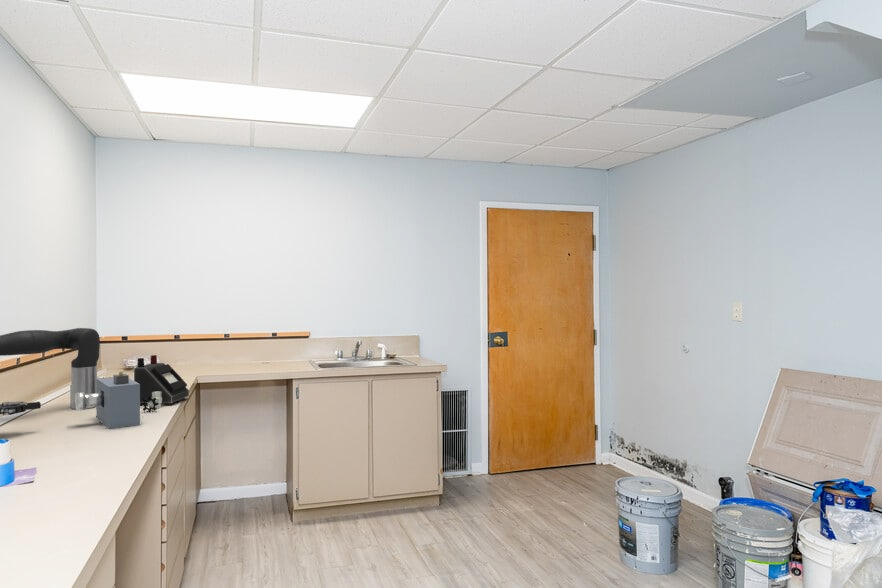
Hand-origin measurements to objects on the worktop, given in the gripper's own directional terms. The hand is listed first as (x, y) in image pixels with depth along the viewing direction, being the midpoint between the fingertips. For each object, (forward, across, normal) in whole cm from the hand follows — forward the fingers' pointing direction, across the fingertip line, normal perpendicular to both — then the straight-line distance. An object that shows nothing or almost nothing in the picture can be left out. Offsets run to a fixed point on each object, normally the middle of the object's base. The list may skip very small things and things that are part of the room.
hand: (40, 405), depth 204 cm
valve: (+40, +14, +9) cm, 44 cm away
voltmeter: (+47, +28, +9) cm, 56 cm away
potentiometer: (+24, -6, -6) cm, 26 cm away
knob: (+15, 0, +3) cm, 16 cm away
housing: (+24, 0, +9) cm, 26 cm away
